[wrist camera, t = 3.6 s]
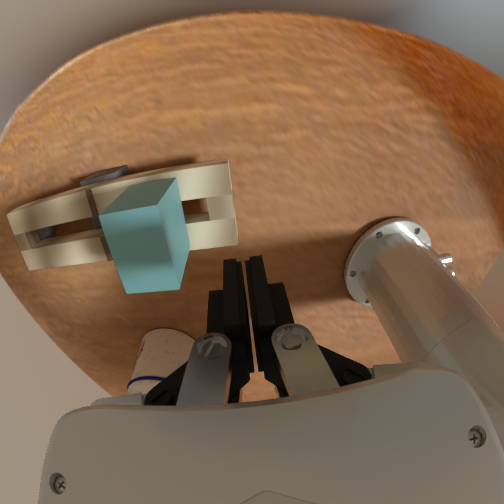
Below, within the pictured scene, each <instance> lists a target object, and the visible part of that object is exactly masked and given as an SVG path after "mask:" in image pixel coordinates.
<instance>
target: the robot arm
mask: <svg viewBox="0 0 504 504" xmlns="http://www.w3.org/2000/svg"><path fill="white" fill-rule="evenodd" d="M451 261H452V256H451V254H450V253H445V254H441V255H439V254H438V253H436V252H435V251H434V250H433V249H432V247H431V240H430V237H429V235H428V233H427V231H426V230H425V229H424V228H423V227H422V226H421V225H420V224H418V223H417V222H416V221H414V220H411V219H409V218H403V217H398V218H391V219H388V220H384V221H382V222H380V223H378V224H376V225H375V226H373V227H372V228H370V229H369V230H368V231H366V232H365V233H364V234H363V235H362V236H361V237H360V238H359V240H358V241H357V242H356V244H355V245H354V246H353V248H352V250H351V252H350V253H349V255H348V258H347V261H346V264H345V270H344V280H345V284H346V287H347V289H348V291H349V293H350V295H351V296H352V297H353V298H354V300H356V301H357V302H359V303H360V304H363V305H365V306H372V307H373V309H374V311H375V313H376V315H377V316H378V318H379V320H380V322H381V324H382V325H383V327H384V329H385V331H386V333H387V335H388V336H389V338H390V340H391V342H392V344H393V346H394V348H395V350H396V352H397V354H398V356H399V358H400V359H401V361H402V363H397V364H383V365H373V367H372V368H367V367H365V366H364V365H362V364H360V363H358V362H355V361H353V360H351V359H349V358H346V357H344V356H342V355H340V354H338V353H335V352H333V351H331V350H329V349H327V348H324V347H322V346H320V345H318V344H317V343H316V341H315V339H314V337H313V336H312V334H311V332H310V331H309V330H308V328H306V327H305V326H303V325H300V324H295V323H294V319H293V316H292V312H291V308H290V305H289V301H288V298H287V294H286V291H285V287H284V284H283V282H280V283H273V284H268V283H267V278H266V273H265V269H264V264H263V259H262V255H261V256H253V257H250V260H247V261H245V265H246V274H247V283H248V292H249V301H250V310H251V318H252V326H253V334H254V341H255V349H256V356H257V363H258V371H259V372H261V371H264V376H265V379H266V380H268V381H269V382H271V383H273V384H274V386H275V390H276V393H277V396H278V398H276V399H269V400H261V401H252V402H242V403H241V401H242V387H243V386H244V385H246V384H247V383H248V382H249V380H250V373H253V372H254V363H253V354H252V345H251V335H250V326H249V316H248V308H247V300H246V293H245V286H244V279H243V271H242V264H241V261H238V262H236V259H228V260H224V265H223V290H214V291H209V300H208V316H207V334H204V335H202V336H200V337H199V338H197V340H196V341H195V342H194V343H193V346H192V348H191V352H190V356H189V359H188V361H186V362H185V363H184V364H183V365H181V366H180V367H179V368H178V369H176V370H175V371H174V372H172V373H171V374H170V375H169V376H167V377H166V378H165V379H163V380H162V381H161V382H160V383H158V384H157V385H156V386H154V387H153V388H152V389H151V390H150V391H149V392H148V393H147V394H142V393H141V392H140V393H134V394H128V395H122V396H116V397H109V398H102V399H98V400H96V401H95V402H93V403H92V404H91V406H86V407H82V408H79V409H75V410H73V411H70V412H68V413H66V414H65V415H64V416H62V417H61V418H60V420H59V421H58V422H57V424H56V426H55V428H54V430H53V433H52V435H51V438H50V441H49V444H48V448H47V451H46V456H45V460H44V464H43V471H42V477H41V484H40V491H39V500H38V504H504V333H503V332H502V331H501V330H500V328H499V327H498V326H497V324H496V323H495V322H494V321H493V319H492V318H491V317H490V316H489V314H488V313H487V312H486V311H485V310H484V308H482V306H481V305H480V304H479V302H478V301H477V300H476V299H475V298H474V297H473V295H472V294H471V293H470V292H469V291H468V290H467V289H466V288H465V286H464V285H463V284H462V283H461V282H460V281H459V280H458V279H457V278H456V277H455V276H454V270H453V268H452V267H451V266H447V267H446V266H445V265H444V264H449V263H451Z"/></svg>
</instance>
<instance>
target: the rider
mask: <svg viewBox="0 0 504 504" xmlns="http://www.w3.org/2000/svg"><path fill="white" fill-rule="evenodd" d="M99 219H100V222H101V226H102V229H103V232H104V235H105V238H106V241H107V244H108V246H109V249H110V252H111V255H112V258H113V260H114V263H115V266H116V268H117V271H118V273H119V276H120V278H121V281H122V283H123V286H124V288H125V291H126V293H127V294H132V293H145V292H157V291H169V290H180V286H181V282H182V278H183V273H184V269H185V265H186V261H187V257H188V254H189V250H190V241H189V237H188V232H187V227H186V223H185V218H184V213H183V208H182V203H181V198H180V193H179V188H178V182H177V177H176V178H170V179H164V180H158V181H153V182H148V183H142V184H137V185H132V186H129V187H128V188H127V189H126V190H125V191H124V192H122V193H121V194H120V195H119V196H118V197H117V198H116V199H115V200H114V201H113V202H112V203H111V204H110V205H109V206H108V207H107V208H106V209H105V210H104V211H103V212H102V213H101V214H100V215H99Z"/></svg>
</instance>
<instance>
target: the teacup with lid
mask: <svg viewBox="0 0 504 504" xmlns="http://www.w3.org/2000/svg"><path fill="white" fill-rule="evenodd" d="M194 342H195V341H194V340H193V339H192V338H191V337H189V336H188V335H186V334H184V333H182V332H180V331H177V330H173V329H155V330H152V331H150V332H148V333H147V334H145V335H144V337H143V338H142V341H141V344H140V348H139V352H138V355H137V359H136V363H135V366H134V370H133V374H132V378H131V381H130V382H129V383H128V386H127V389H128V394H134V393H140V392H141V393H142V394H147V393H148V392H149V391H150V390H151V389H152V388H153V387H154V386H156V385H157V384H158V383H160V382H161V381H162V380H163V379H165V378H166V377H167V376H169V375H170V374H171V373H172V372H174V371H175V370H176V369H178V368H179V367H180V366H181V365H183V364H184V363H185V362H186V361H188V359H189V356H190V352H191V348H192V346H193V343H194Z"/></svg>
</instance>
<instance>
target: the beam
mask: <svg viewBox="0 0 504 504" xmlns="http://www.w3.org/2000/svg"><path fill="white" fill-rule="evenodd" d="M176 177H177V182H178V188H179V193H180V198H181V201H185V200H192V199H199V198H206V200H207V206H208V212H204V213H196V214H189V215H184V218H185V223H186V227H187V232H188V237H189V241H190V250H198V249H207V248H215V247H224V246H233V245H238V233H237V225H236V217H235V209H234V202H233V194H232V186H231V178H230V170H229V161H228V158H227V159H219V160H212V161H205V162H198V163H191V164H185V165H179V166H173V167H167V168H162V169H157V170H151V171H146V172H141V173H137V174H132V175H129V173H128V168H127V165H124V166H120V167H116V168H112V169H108V170H104V171H100V172H97V173H93V174H92V175H90V176H88V177H87V178H85V179H84V180H82V181H80V185H81V187H79V188H75V189H72V190H68V191H65V192H61V193H58V194H55V195H51V196H48V197H45V198H42V199H39V200H36V201H33V202H30V203H27V204H24V205H21V206H19V207H16V208H15V209H13V210H12V211H11V212H9V213H8V214H7V217H8V220H9V223H10V226H11V228H12V231H13V234H14V236H15V239H16V241H17V244H18V246H19V249H20V251H21V253H22V256H23V258H24V260H25V262H26V265H27V267H28V269H29V271H30V270H37V269H45V268H52V267H60V266H68V265H76V264H83V263H91V262H99V261H107V260H108V261H111V260H113V258H112V255H111V252H110V249H109V246H108V244H107V241H106V238H105V235H104V232H103V229H102V226H101V222H100V219H99V215H100V214H101V213H102V212H103V211H104V210H105V209H106V208H107V207H108V206H109V205H110V204H111V203H112V202H113V201H114V200H115V199H116V198H117V197H118V196H119V195H120V194H121V193H122V192H124V191H125V190H126V189H127V188H128V187H129V186H132V185H137V184H142V183H148V182H153V181H158V180H164V179H170V178H176ZM89 217H90V219H91V222H92V225H93V228H94V230H89V231H84V232H79V233H74V234H69V235H64V236H59V237H57V236H56V233H55V231H54V228H53V225H57V224H62V223H66V222H70V221H75V220H80V219H84V218H89ZM190 250H189V251H190Z"/></svg>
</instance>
